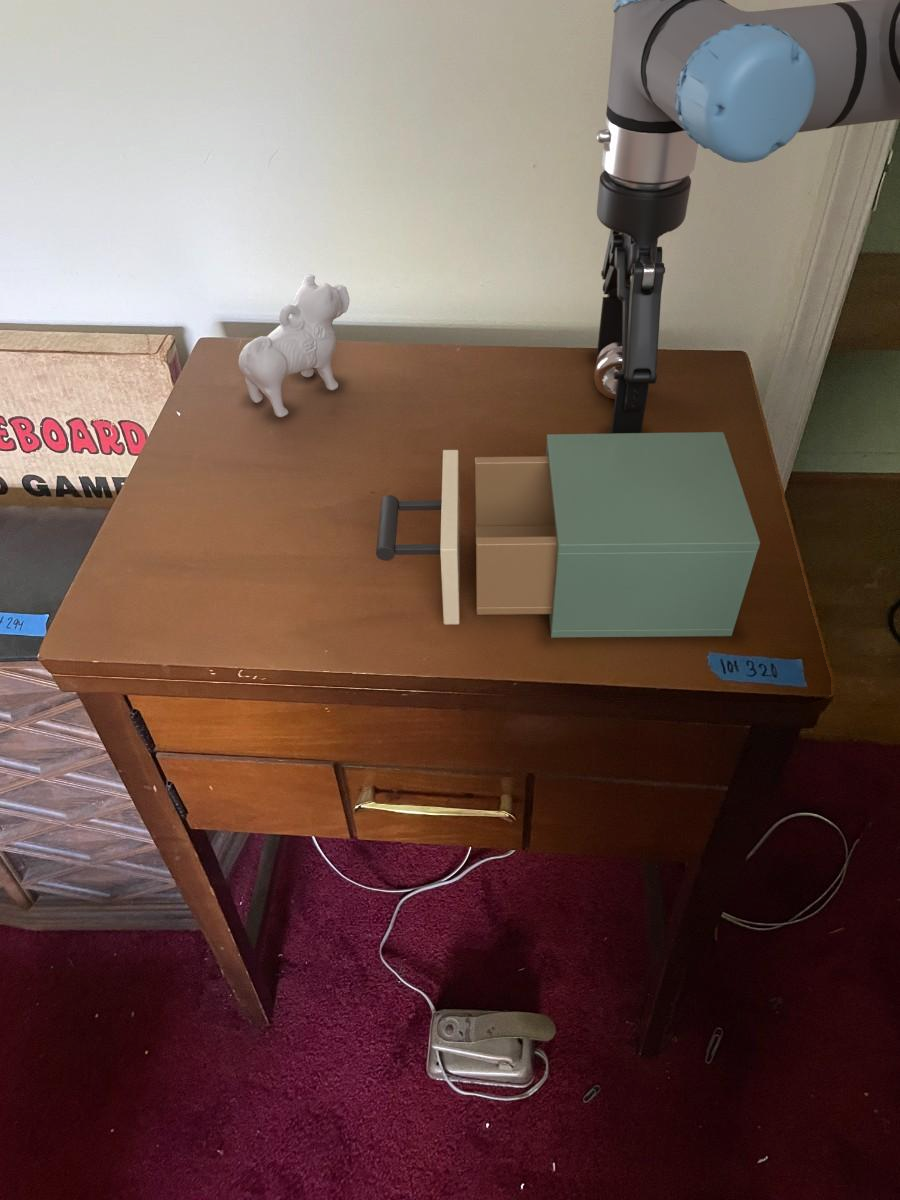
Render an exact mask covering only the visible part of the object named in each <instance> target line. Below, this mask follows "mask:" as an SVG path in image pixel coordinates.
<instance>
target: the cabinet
mask: <svg viewBox="0 0 900 1200" xmlns="http://www.w3.org/2000/svg"><path fill="white" fill-rule="evenodd" d="M545 446H546V448H545V456H548V460H549V470H550V479H551V489H552V499H553V508H554V518H555V528H556V537H557V556H556V568H555V580H554V592H553V604H552V614H548V620H549V632H550V637H551V638H553V639H554V638H555V639H556V638H667V637H668V638H669V637H671V638H673V637H676V638H678V637H680V638H681V637H732V636H733V632H734V629H735V626H736V624H737V623H736V622H737V620H738V616H739V613H740V610H741V606H742V604H743V601H744V597H745V594H746V591H747V587H748V585H749V581H750V578H751V574H752V571H753V568H754V564H755V561H756V557H757V555H758V551H759V548H760V546H761V540H760V538H759V534H758V532H757V528H756V526H755V523H754V518H753V517H752V513H751V510H750V507H749V504H748V501H747V498H746V496H745V493H744V490H743V487H742V484H741V481H740V478H739V474H738V471H737V469H736V466H735V462H734V459H733V457H732V453H731V450H730V448H729V444H728V441H727V439H726V436H725V433H724V431H708V432H707V431H703V432H702V431H701V432H699V431H698V432H695V431H693V432H689V431H688V432H641V433H616V434H612V433H558V434H557V433H556V434H555V433H553V434H551V433H550V434H547V435H546V445H545Z"/></svg>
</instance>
